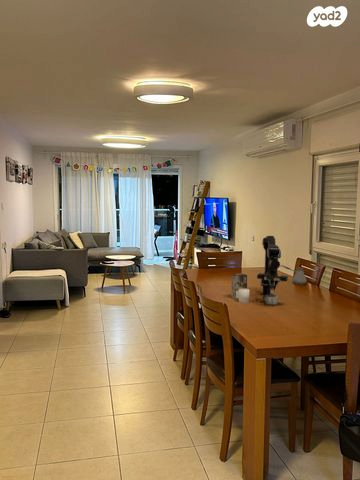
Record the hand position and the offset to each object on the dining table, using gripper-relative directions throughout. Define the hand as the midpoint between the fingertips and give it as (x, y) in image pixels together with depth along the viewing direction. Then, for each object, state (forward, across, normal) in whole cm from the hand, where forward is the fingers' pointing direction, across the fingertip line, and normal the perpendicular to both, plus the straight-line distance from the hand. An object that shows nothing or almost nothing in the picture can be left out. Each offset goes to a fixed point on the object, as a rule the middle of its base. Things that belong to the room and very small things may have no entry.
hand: (272, 290), depth 265 cm
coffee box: (+9, -24, +6) cm, 26 cm away
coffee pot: (+9, -1, +72) cm, 73 cm away
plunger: (+5, 0, 0) cm, 5 cm away
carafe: (+9, -1, 0) cm, 9 cm away
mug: (+9, -18, -2) cm, 20 cm away
